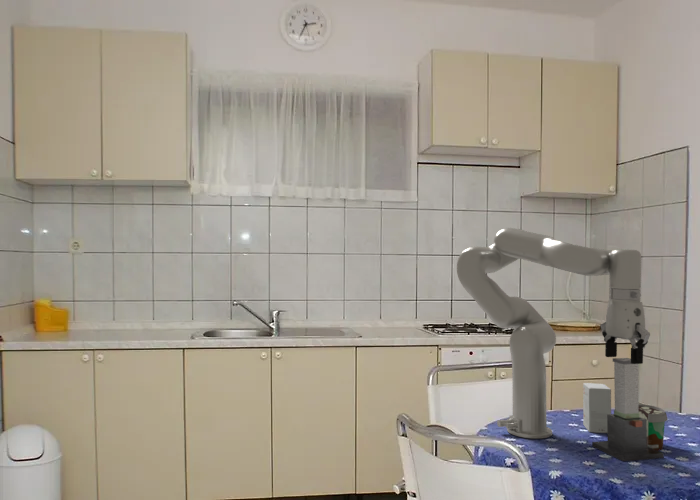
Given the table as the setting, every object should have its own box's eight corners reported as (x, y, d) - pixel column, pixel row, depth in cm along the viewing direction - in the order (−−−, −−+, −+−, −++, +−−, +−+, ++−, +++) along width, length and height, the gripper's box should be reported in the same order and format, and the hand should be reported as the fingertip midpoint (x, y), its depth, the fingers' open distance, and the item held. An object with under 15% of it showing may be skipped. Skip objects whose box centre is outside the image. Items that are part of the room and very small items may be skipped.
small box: (612, 433, 165) (611, 389, 165) (589, 432, 166) (588, 388, 166) (604, 426, 172) (604, 383, 173) (582, 424, 174) (582, 382, 174)
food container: (675, 454, 147) (674, 415, 147) (649, 452, 148) (649, 414, 148) (659, 440, 159) (658, 404, 159) (635, 438, 160) (635, 403, 160)
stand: (623, 461, 141) (622, 424, 141) (592, 446, 153) (592, 412, 153) (663, 457, 144) (663, 421, 144) (630, 443, 155) (629, 409, 156)
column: (625, 426, 146) (624, 361, 146) (613, 421, 150) (612, 358, 151) (640, 425, 147) (639, 360, 147) (627, 420, 151) (627, 357, 152)
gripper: (661, 298, 142) (660, 366, 142) (614, 293, 159) (613, 354, 159) (636, 298, 140) (634, 366, 140) (591, 293, 157) (590, 354, 157)
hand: (623, 360), depth 149 cm, fingers open, 9 cm apart
